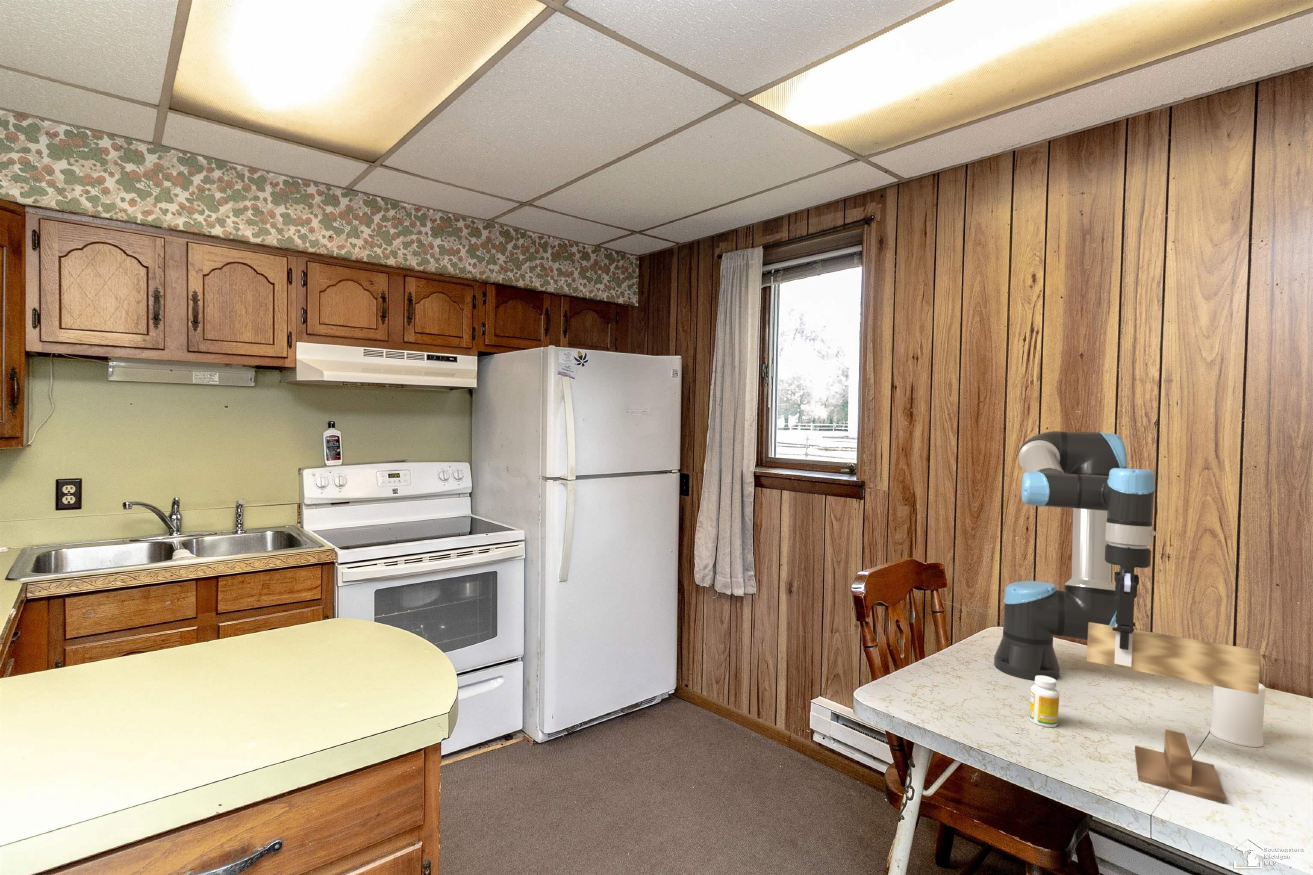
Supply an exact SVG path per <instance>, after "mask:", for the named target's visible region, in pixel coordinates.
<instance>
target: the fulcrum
mask: <svg viewBox="0 0 1313 875" xmlns="http://www.w3.org/2000/svg"><path fill="white" fill-rule="evenodd" d="M1163 743H1164V744H1163V745H1164V747H1163V751H1158V750H1154V749H1151V748H1146V747H1142V746H1139V745H1134V754H1135V763H1136V765H1135V766H1136V772H1137V781H1139V782H1143V783H1146V784H1150V785H1153V786H1157V787H1161V788H1164V789H1169V790H1172V791H1175V792H1179V793H1183V794H1186V795H1191V796H1194V797H1198V798H1202V799H1204V800H1209V801H1213V802H1217V803H1219V804H1224V805H1225V804H1226V797H1225V794H1224V791H1223V789H1222V786H1221V782H1220V780H1219V776H1218V774H1217V771H1216V769H1215V766H1214V764H1211V763H1207V762H1203V761H1200V760H1196V759H1193V756H1192V753H1191V749H1190V746H1189V742H1188V739H1187V736H1186V733H1184V732H1180V731H1174V730H1172V729H1171V730H1170V729H1165V728H1164V742H1163Z"/></svg>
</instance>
